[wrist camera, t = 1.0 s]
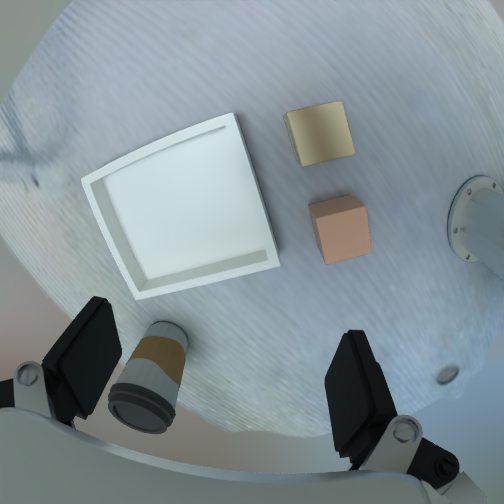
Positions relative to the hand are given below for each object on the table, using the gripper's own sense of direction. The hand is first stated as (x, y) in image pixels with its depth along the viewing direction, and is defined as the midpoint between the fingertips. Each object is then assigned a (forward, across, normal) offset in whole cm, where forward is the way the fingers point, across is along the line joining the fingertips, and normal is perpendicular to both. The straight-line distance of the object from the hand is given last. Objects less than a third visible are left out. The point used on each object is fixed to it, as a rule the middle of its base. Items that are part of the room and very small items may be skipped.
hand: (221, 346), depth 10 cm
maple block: (+22, -6, -8) cm, 24 cm away
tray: (+21, +8, +2) cm, 23 cm away
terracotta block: (+22, -10, +1) cm, 24 cm away
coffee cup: (+22, +10, +21) cm, 32 cm away
